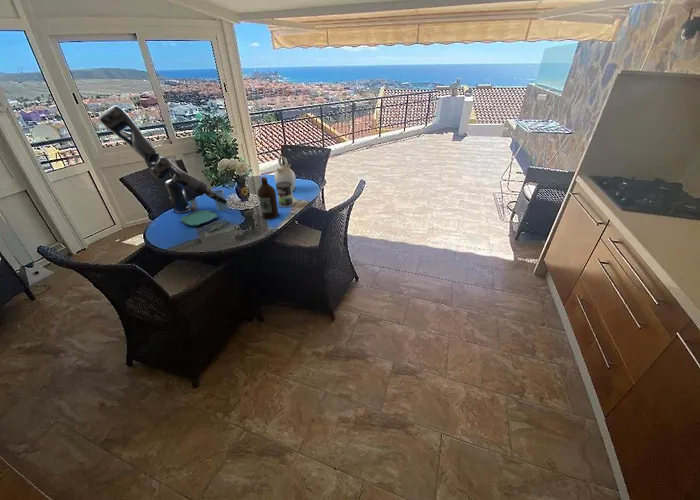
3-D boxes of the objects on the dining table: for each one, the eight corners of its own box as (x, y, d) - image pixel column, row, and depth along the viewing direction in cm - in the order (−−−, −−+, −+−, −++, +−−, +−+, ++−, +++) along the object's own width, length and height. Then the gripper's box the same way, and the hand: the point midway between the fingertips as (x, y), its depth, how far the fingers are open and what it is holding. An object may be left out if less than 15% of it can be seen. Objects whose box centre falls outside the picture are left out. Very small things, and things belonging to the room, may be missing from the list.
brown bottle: (267, 211, 191) (259, 174, 178) (282, 212, 189) (275, 175, 176) (259, 218, 183) (251, 180, 169) (275, 220, 181) (267, 181, 167)
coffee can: (289, 208, 195) (286, 188, 188) (276, 205, 199) (272, 186, 191) (296, 202, 203) (294, 182, 196) (284, 200, 207) (281, 180, 199)
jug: (289, 184, 232) (285, 152, 219) (300, 189, 223) (297, 156, 209) (272, 189, 224) (267, 156, 210) (283, 195, 214) (278, 160, 200)
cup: (215, 210, 165) (210, 193, 159) (221, 205, 170) (216, 189, 164) (224, 210, 164) (219, 194, 158) (230, 206, 169) (225, 189, 163)
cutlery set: (206, 210, 195) (205, 207, 193) (233, 222, 180) (232, 219, 178) (176, 222, 182) (175, 218, 180) (203, 236, 166) (201, 232, 165)
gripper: (188, 187, 158) (216, 202, 170) (195, 195, 148) (224, 210, 161) (195, 175, 157) (223, 191, 170) (203, 183, 148) (232, 198, 160)
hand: (223, 200), depth 165 cm, fingers closed on cup, 6 cm apart
